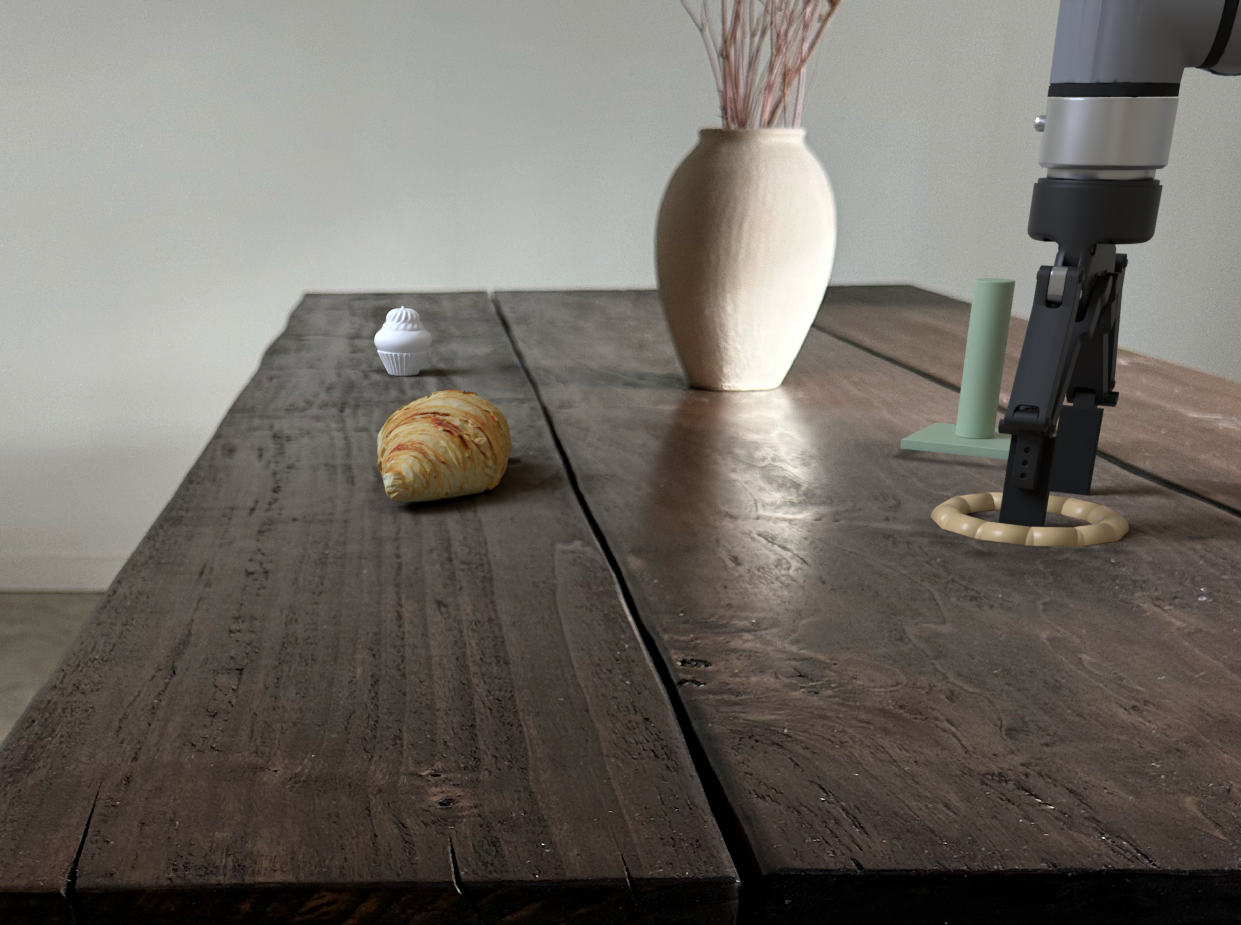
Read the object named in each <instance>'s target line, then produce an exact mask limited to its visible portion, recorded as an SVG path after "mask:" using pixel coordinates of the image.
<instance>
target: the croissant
mask: <svg viewBox="0 0 1241 925" xmlns="http://www.w3.org/2000/svg"><path fill="white" fill-rule="evenodd" d="M510 430H511V428H510V425H509V423H508V420H507V418H506V417H505V415H504V413H503V412H502V411H501V409H499V408H498V407H497V406H495V405H494V404H492V402H491V401H489V400H487V399H485V398H482V397H481V396H479V395H478V394H477V392H473V391H466V390H461V389H460V390H459V389H446V390H440V391H433V392H431V395H426V396H422V397H420V398H418V399H417V398H416V399H414V400H413V401H411V402H406V403H405V404H404V405H402V406H400V407H399V408H398V409H397V410H395V412H393V413H392V414H391V415H390V416H389V417H388V419H387V420H386V421H385V422H384V424H383V426H382V427H381V429H380V430H379V432H378V434H377V438H376V439H377V440H376V443H377V451H376V453H377V457H378V458H377V469H378V470H379V473H380V475H381V477H382V482H383V486H384V491H385V493H386V497H387V498H388V499H390V500H391V501H392V502H396V503H398V502H399V503H417V502H418V503H419V502H431V501H438V500H442V499H450V498H457V497H464V496H470V495H474V494H482V493H483V492H485V491H487V490H493V489H494V488H495V487H497V486H498V485H499V484H500V483H501V480H502V478H503V476H504V475H505V472H506V470H507V467H508V463H509V462H508V461H509V458H510V456H511V451H512V436H511V433H510V432H511V431H510Z"/></svg>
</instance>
